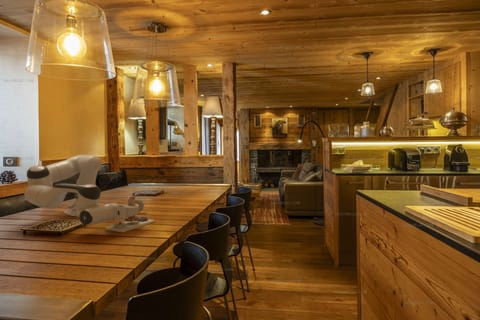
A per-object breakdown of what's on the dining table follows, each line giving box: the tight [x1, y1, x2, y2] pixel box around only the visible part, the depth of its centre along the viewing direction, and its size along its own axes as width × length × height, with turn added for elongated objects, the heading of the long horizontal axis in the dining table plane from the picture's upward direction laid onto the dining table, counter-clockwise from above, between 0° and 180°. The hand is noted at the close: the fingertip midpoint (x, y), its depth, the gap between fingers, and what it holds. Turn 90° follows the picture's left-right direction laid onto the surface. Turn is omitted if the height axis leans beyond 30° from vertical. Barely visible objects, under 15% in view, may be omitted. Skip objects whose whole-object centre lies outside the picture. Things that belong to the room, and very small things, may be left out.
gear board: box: [105, 215, 156, 233], centre depth 165 cm, size 12×24×4 cm, turn 154°
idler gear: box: [124, 195, 138, 222], centre depth 164 cm, size 7×7×14 cm
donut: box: [135, 197, 145, 213], centre depth 196 cm, size 10×4×10 cm, turn 104°
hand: (132, 206), depth 165 cm, fingers closed on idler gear, 4 cm apart
